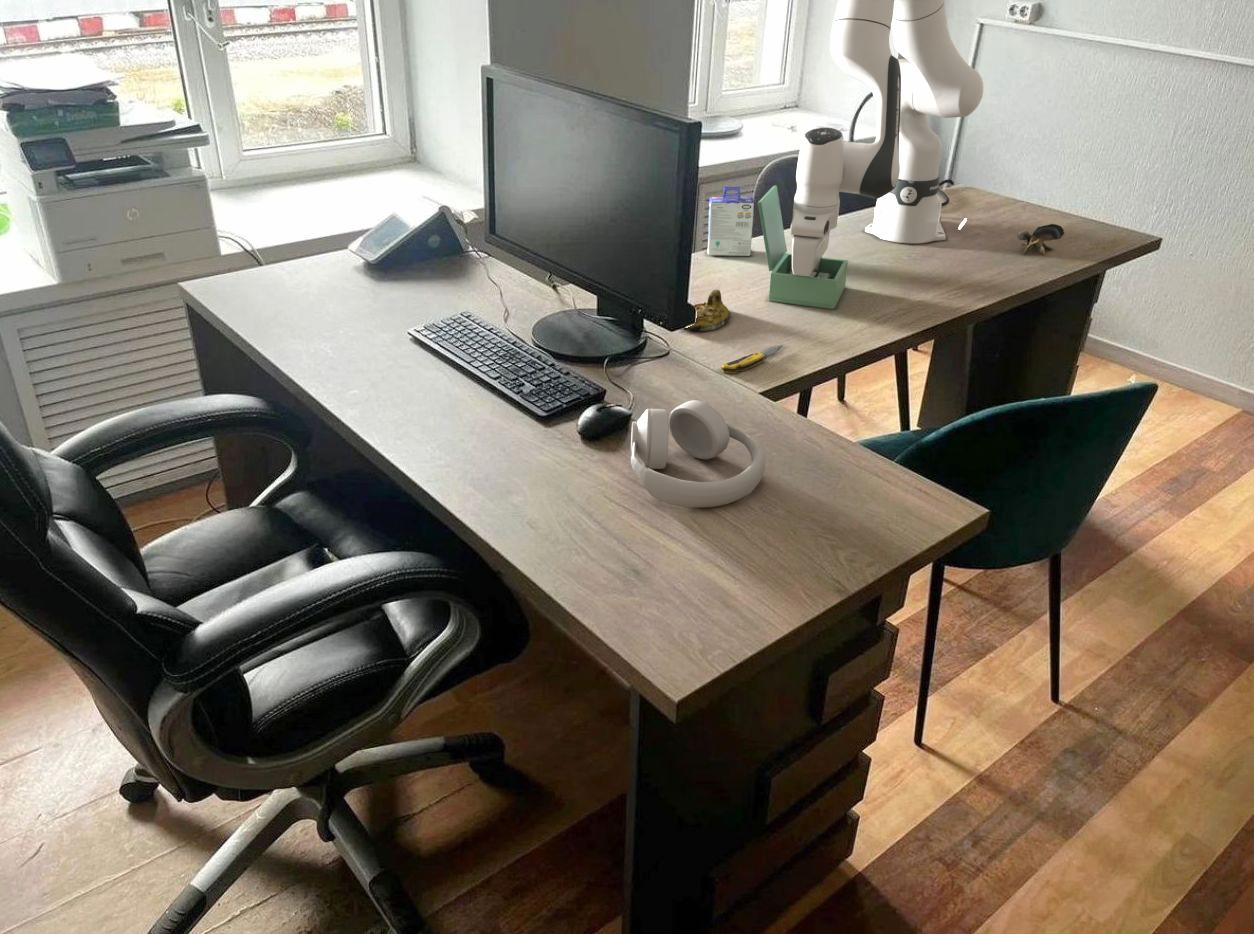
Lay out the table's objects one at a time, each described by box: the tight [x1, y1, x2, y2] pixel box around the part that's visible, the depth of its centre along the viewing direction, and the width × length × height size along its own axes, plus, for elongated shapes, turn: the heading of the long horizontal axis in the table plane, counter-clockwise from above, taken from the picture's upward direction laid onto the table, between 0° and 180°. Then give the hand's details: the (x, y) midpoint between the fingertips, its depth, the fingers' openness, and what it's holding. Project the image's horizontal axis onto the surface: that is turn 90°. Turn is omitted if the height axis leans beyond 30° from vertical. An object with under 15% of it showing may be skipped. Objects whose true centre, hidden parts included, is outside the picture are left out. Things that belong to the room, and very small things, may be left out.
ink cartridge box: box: [706, 186, 755, 257], centre depth 224 cm, size 10×6×14 cm, turn 89°
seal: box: [682, 289, 731, 332], centre depth 190 cm, size 9×5×15 cm
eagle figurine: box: [1016, 223, 1065, 256], centre depth 228 cm, size 8×7×9 cm
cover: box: [757, 185, 788, 272], centre depth 200 cm, size 14×14×1 cm
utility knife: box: [721, 343, 785, 374], centre depth 175 cm, size 16×1×3 cm
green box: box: [768, 252, 849, 310], centre depth 203 cm, size 13×14×6 cm
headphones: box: [630, 399, 766, 509], centre depth 139 cm, size 18×8×20 cm
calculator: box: [788, 269, 832, 279], centre depth 203 cm, size 8×5×3 cm, turn 70°
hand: (808, 283), depth 203 cm, fingers open, 6 cm apart
